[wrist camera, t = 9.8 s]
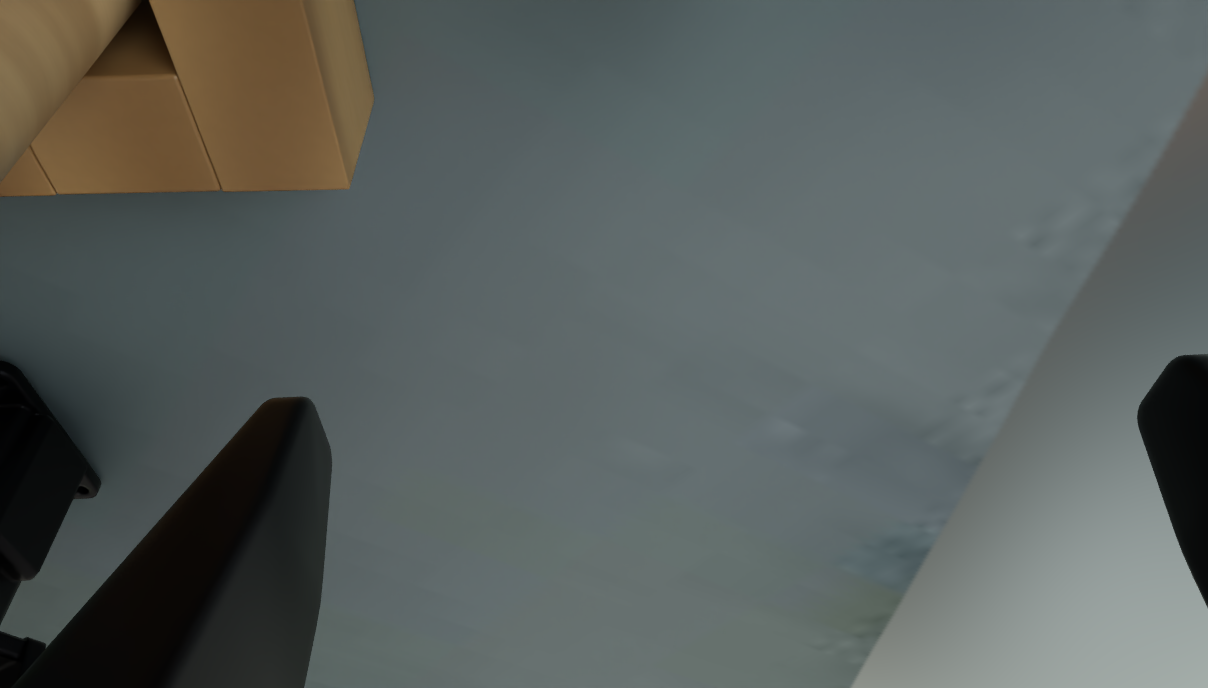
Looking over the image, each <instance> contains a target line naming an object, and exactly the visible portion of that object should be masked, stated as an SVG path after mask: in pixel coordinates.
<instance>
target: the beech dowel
mask: <svg viewBox="0 0 1208 688" xmlns="http://www.w3.org/2000/svg"><path fill="white" fill-rule="evenodd" d="M142 1H143V0H0V183H1V181H2V180H3V179H4V178H5V176H6V175H7V174H8V172H9V171H10V170H11V169H12V167H13V166H14V165H15V164H16V162H17V161H18V160H19V158H20V157H21V156H22V155H23V153H24V152H25V151H26V149H27V148H28V147H29V146H30V144H31V143H32V142H33V140H34V139H35V138H36V137H37V135H38V134H39V133H40V131H41V130H42V129H43V128H44V126H45V125H46V124H47V123H48V121H49V120H50V119H51V117H52V116H53V115H54V114H55V112H56V111H57V110H58V108H59V107H60V106H61V105H62V103H63V102H64V101H65V99H66V98H67V97H68V96H69V94H70V93H71V92H72V90H73V89H74V88H75V87H76V85H77V84H78V83H79V82H80V80H81V79H82V78H83V76H84V75H85V74H86V73H87V71H88V70H89V69H90V67H91V66H92V65H93V64H94V62H95V61H96V60H97V58H98V57H99V56H100V55H101V53H102V52H103V51H104V49H105V48H106V47H107V46H108V44H109V43H110V42H111V41H112V39H113V38H114V37H115V35H116V34H117V33H118V32H119V30H120V29H121V28H122V26H123V25H124V24H125V23H126V21H127V20H128V19H129V17H130V16H131V15H132V14H133V12H134V11H135V10H136V8H137V7H138V6H139V5H140V3H141V2H142Z"/></svg>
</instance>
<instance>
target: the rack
mask: <svg viewBox="0 0 1208 688" xmlns="http://www.w3.org/2000/svg"><path fill="white" fill-rule="evenodd" d="M373 102H374V95H373V90H372V85H371V80H370V76H369V71H368V66H367V61H366V56H365V52H364V47H363V42H362V37H361V32H360V28H359V23H358V18H357V13H356V8H355V4H354V0H143V1H142V2H141V3H140V5H139V6H138V7H137V8H136V10H135V11H134V12H133V14H132V15H131V16H130V17H129V19H128V20H127V21H126V23H125V24H124V25H123V26H122V28H121V29H120V30H119V32H118V33H117V34H116V35H115V37H114V38H113V39H112V41H111V42H110V43H109V44H108V46H107V47H106V48H105V49H104V51H103V52H102V53H101V55H100V56H99V57H98V58H97V60H96V61H95V62H94V64H93V65H92V66H91V67H90V69H89V70H88V71H87V73H86V74H85V75H84V76H83V78H82V79H81V80H80V82H79V83H78V84H77V85H76V87H75V88H74V89H73V90H72V92H71V93H70V94H69V96H68V97H67V98H66V99H65V101H64V102H63V103H62V105H61V106H60V107H59V108H58V110H57V111H56V112H55V114H54V115H53V116H52V117H51V119H50V120H49V121H48V123H47V124H46V125H45V126H44V128H43V129H42V130H41V131H40V133H39V134H38V135H37V137H36V138H35V139H34V140H33V142H32V143H31V144H30V146H29V147H28V148H27V149H26V151H25V152H24V153H23V155H22V156H21V157H20V158H19V160H18V161H17V162H16V164H15V165H14V166H13V167H12V169H11V170H10V171H9V172H8V174H7V175H6V176H5V178H4V179H3V180H2V181H1V183H0V197H5V196H52V195H56V194H57V193H58V194H106V193H154V192H202V191H219V190H221V189H222V191H223V192H243V191H291V190H338V189H349V188H350V185H351V181H352V178H353V174H354V170H355V167H356V163H357V160H358V156H359V152H360V149H361V145H362V142H363V138H364V135H365V131H366V127H367V124H368V120H369V117H370V113H371V110H372V106H373Z"/></svg>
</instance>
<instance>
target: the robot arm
mask: <svg viewBox="0 0 1208 688" xmlns="http://www.w3.org/2000/svg"><path fill="white" fill-rule="evenodd" d="M1137 419H1138V426H1139V430H1140V433H1141V436H1142V439H1143V442H1144V445H1145V447H1146V450H1147V453H1148V456H1149V459H1150V462H1151V465H1152V468H1153V471H1154V474H1155V476H1156V479H1157V482H1158V485H1159V488H1160V491H1161V494H1162V497H1163V500H1164V503H1165V506H1166V508H1167V511H1168V514H1169V517H1170V520H1171V523H1172V526H1173V529H1174V531H1175V534H1176V537H1177V539H1178V542H1179V545H1180V548H1181V550H1182V553H1183V555H1184V557H1185V560H1186V562H1187V564H1188V566H1189V569H1190V571H1191V573H1192V576H1193V578H1194V580H1195V582H1196V584H1197V586H1198V588H1199V590H1200V592H1201V595H1202V597H1203V599H1204V601H1205V603H1206V605H1207V607H1208V354H1200V355H1183V356H1178V357H1176V358H1175V359H1173V360H1172V361H1171V362H1170V363H1169V364H1168V365H1167V366H1166V368H1165V369H1164V371H1163V372H1162V374H1161V375H1160V376H1159V378H1158V379H1157V380H1156V382H1155V383H1154V385H1153V386H1152V388H1151V389H1150V391H1149V392H1148V393H1147V395H1146V396H1145V398H1144V399H1143V400H1142V402H1141V404H1140V406H1139V409H1138V415H1137ZM331 472H332V456H331V449H330V445H329V442H328V440H327V437H326V434H325V432H324V429H323V426H322V424H321V421H320V418H319V416H318V413H317V410H316V408H315V405H314V404H313V402H312V401H311V400H310V399H309V398H307V397H283V398H272V399H269V400H267V401H266V402H264V403H263V404H262V405H261V406H260V407H259V408H258V409H257V411H256V412H255V413H254V414H253V415H252V416H251V417H250V418H249V420H248V421H247V422H246V423H245V424H244V425H243V426H242V428H241V429H240V430H239V431H238V432H237V433H236V434H235V435H234V437H233V438H232V439H231V440H230V441H229V442H228V443H227V444H226V446H225V447H224V448H223V449H222V450H221V451H220V452H219V454H218V455H217V456H216V457H215V458H214V459H213V460H212V461H211V463H210V464H209V465H208V466H207V467H206V468H205V469H204V470H203V472H202V473H201V474H200V475H199V476H198V477H197V478H196V480H195V481H194V482H193V483H192V484H191V485H190V486H189V487H188V489H187V490H186V491H185V492H184V493H183V494H182V495H181V496H180V498H179V499H178V500H177V501H176V502H175V503H174V504H173V505H172V507H171V508H170V509H169V510H168V511H167V512H166V513H165V515H164V516H163V517H162V518H161V519H160V520H159V521H158V522H157V524H156V525H155V526H154V527H153V528H152V529H151V530H150V531H149V533H148V534H147V535H146V536H145V537H144V538H143V539H142V541H141V542H140V543H139V544H138V545H137V546H136V547H135V548H134V550H133V551H132V552H131V553H130V554H129V555H128V556H127V557H126V559H125V560H124V561H123V562H122V563H121V564H120V565H119V567H118V568H117V569H116V570H115V571H114V572H113V573H112V574H111V576H110V577H109V578H108V579H107V580H106V581H105V582H104V583H103V585H102V586H101V587H100V588H99V589H98V590H97V591H96V593H95V594H94V595H93V596H92V597H91V598H90V599H89V600H88V602H87V603H86V604H85V605H84V606H83V607H82V608H81V609H80V611H79V612H78V613H77V614H76V615H75V616H74V617H73V619H72V620H71V621H70V622H69V623H68V624H67V625H66V626H65V628H64V629H63V630H62V631H61V632H60V633H59V634H58V635H57V637H56V638H55V639H54V640H53V641H52V642H51V643H50V644H49V646H48V647H47V648H46V644H45V643H43V642H40V641H37V640H34V639H32V638H29V637H26V638H24V639H21V638H18V637H16V636H13V635H10V634H7V633H4V632H1V631H0V688H304V685H305V680H306V676H307V671H308V666H309V661H310V656H311V651H312V646H313V641H314V636H315V631H316V626H317V621H318V615H319V609H320V603H321V593H322V583H323V572H324V559H325V547H326V534H327V522H328V510H329V497H330V485H331ZM100 486H101V480H100V478H99V477H98V476H97V474H96V473H95V472H94V470H93V469H92V468H91V466H90V465H89V463H88V462H87V461H86V459H85V458H84V457H83V455H82V454H81V453H80V451H79V450H78V448H77V447H76V446H75V444H74V443H73V442H72V440H71V439H70V438H69V436H68V435H67V433H66V432H65V431H64V429H63V428H62V427H61V425H60V424H59V423H58V421H57V420H56V418H55V417H54V416H53V414H52V413H51V412H50V410H49V409H48V408H47V406H46V405H45V403H44V402H43V401H42V399H41V398H40V397H39V395H38V394H37V393H36V391H35V390H34V388H33V387H32V386H31V384H30V383H29V382H28V380H27V379H26V378H25V376H24V375H23V374H22V372H21V371H20V370H19V369H18V368H17V367H16V366H14V365H12V364H10V363H8V362H4V361H0V625H1V623H2V620H3V618H4V616H5V614H6V612H7V610H8V608H9V606H10V604H11V602H12V600H13V597H14V595H15V593H16V591H17V589H18V587H19V585H20V583H21V581H27V580H31V579H33V578H34V577H35V576H36V575H37V574H38V572H39V571H40V569H41V567H42V565H43V562H44V560H45V558H46V556H47V554H48V552H49V550H50V547H51V545H52V543H53V541H54V539H55V537H56V535H57V532H58V530H59V528H60V526H61V524H62V522H63V520H64V517H65V515H66V513H67V511H68V509H69V507H70V505H71V502H72V500H73V499H85V498H93V497H95V496H96V495H97V492H98V490H99V488H100ZM45 648H46V649H45Z"/></svg>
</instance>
